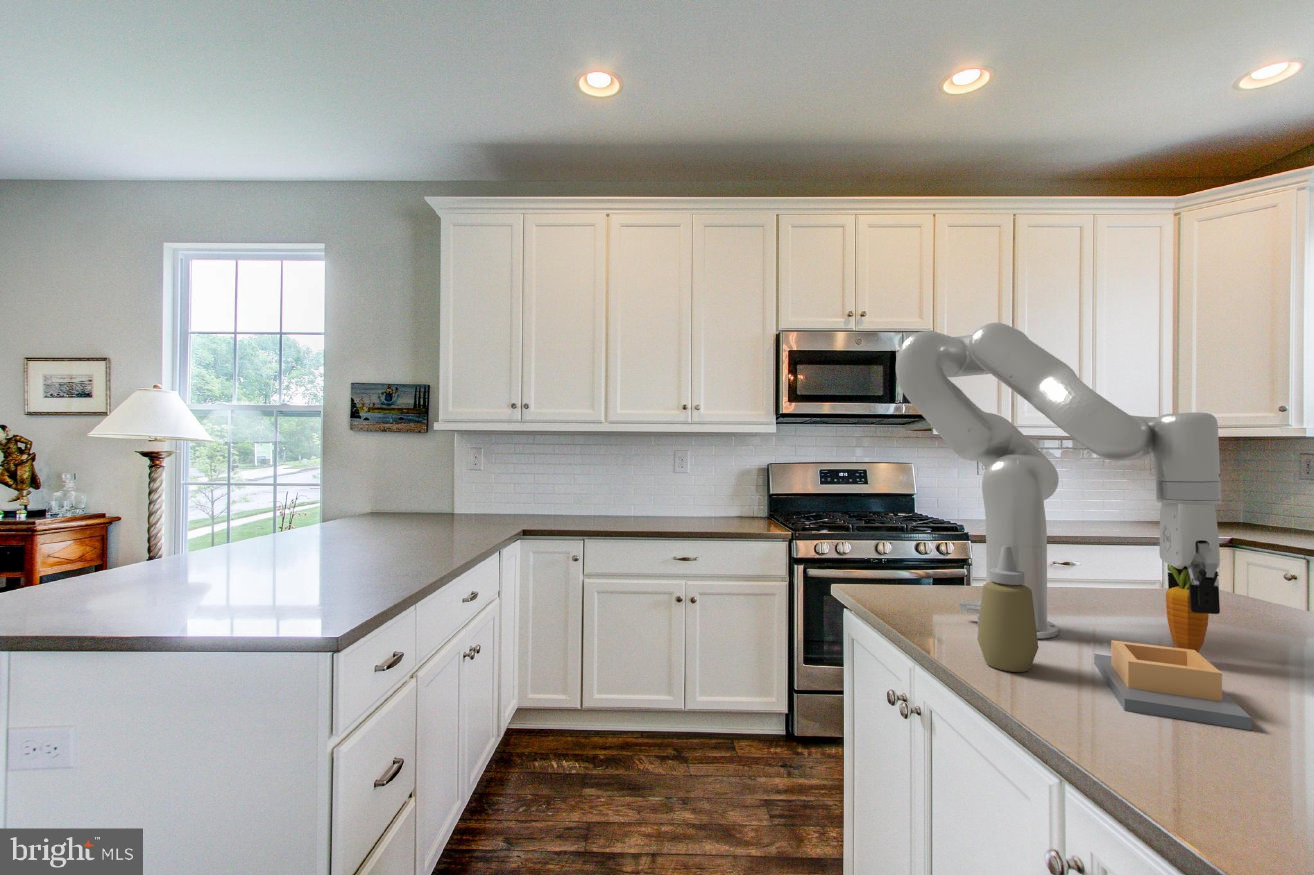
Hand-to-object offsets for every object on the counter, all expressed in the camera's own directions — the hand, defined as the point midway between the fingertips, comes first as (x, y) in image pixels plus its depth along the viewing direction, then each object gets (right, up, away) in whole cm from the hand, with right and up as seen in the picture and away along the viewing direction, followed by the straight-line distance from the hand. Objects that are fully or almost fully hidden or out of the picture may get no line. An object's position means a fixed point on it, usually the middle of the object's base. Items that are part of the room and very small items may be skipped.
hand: (1192, 605), depth 92 cm
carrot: (0, -9, 0) cm, 9 cm away
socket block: (-14, -9, -11) cm, 20 cm away
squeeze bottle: (-29, -9, -1) cm, 31 cm away
